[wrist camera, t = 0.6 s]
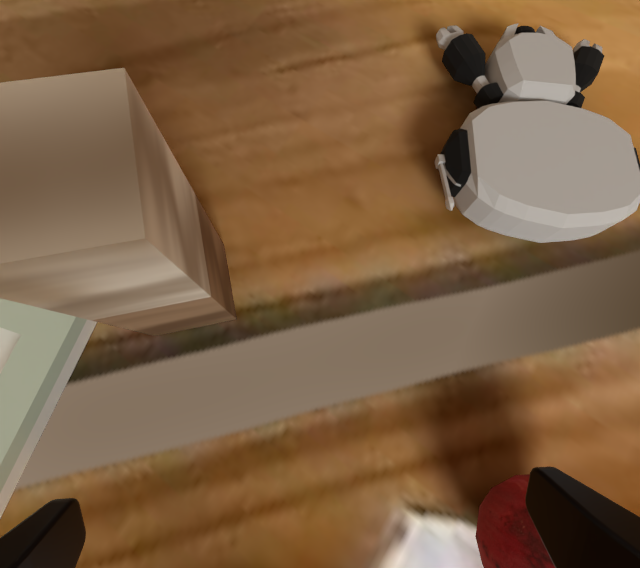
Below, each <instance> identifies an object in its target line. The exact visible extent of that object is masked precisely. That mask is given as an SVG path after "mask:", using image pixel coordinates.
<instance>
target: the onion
mask: <svg viewBox="0 0 640 568" xmlns="http://www.w3.org/2000/svg"><path fill="white" fill-rule="evenodd" d="M529 476H530V475H515V476H513V477H511V478H509V479H508V480H506V481H504V482H502V483H500V484H498V485H496V486H494V487H493V488H491V489H490V491H489V493H488V494H487V496H486V497H485V499H484V500H483V502H482V503H481V505H480V506H479V514H478V522H477V530H476V540H477V544H478V548H479V552H480V556H481V560H482V564H483V566H484V568H555V566H554V564H553V562H552V560H551V558H550V556H549V554H548V552H547V550H546V548H545V546H544V544H543V542H542V539H541V537H540V535H539V533H538V531H537V529H536V527H535V525H534V523H533V521H532V519H531V517H530V515H529V513H528V510H527V507H526V503H525V497H526V491H527V486H528V481H529Z"/></svg>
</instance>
